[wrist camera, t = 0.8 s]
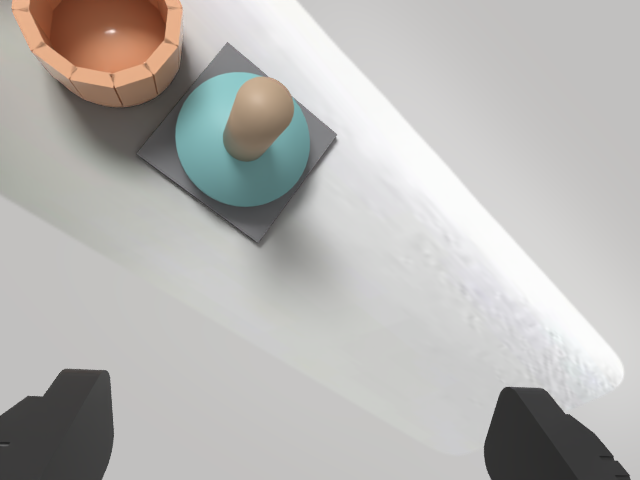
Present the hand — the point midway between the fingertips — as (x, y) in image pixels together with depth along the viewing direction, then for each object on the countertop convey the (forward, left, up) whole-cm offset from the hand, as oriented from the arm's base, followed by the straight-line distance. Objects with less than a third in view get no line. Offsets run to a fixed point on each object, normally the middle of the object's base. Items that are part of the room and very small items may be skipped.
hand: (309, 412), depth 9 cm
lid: (+2, +10, -23) cm, 25 cm away
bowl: (-6, +17, -24) cm, 30 cm away
